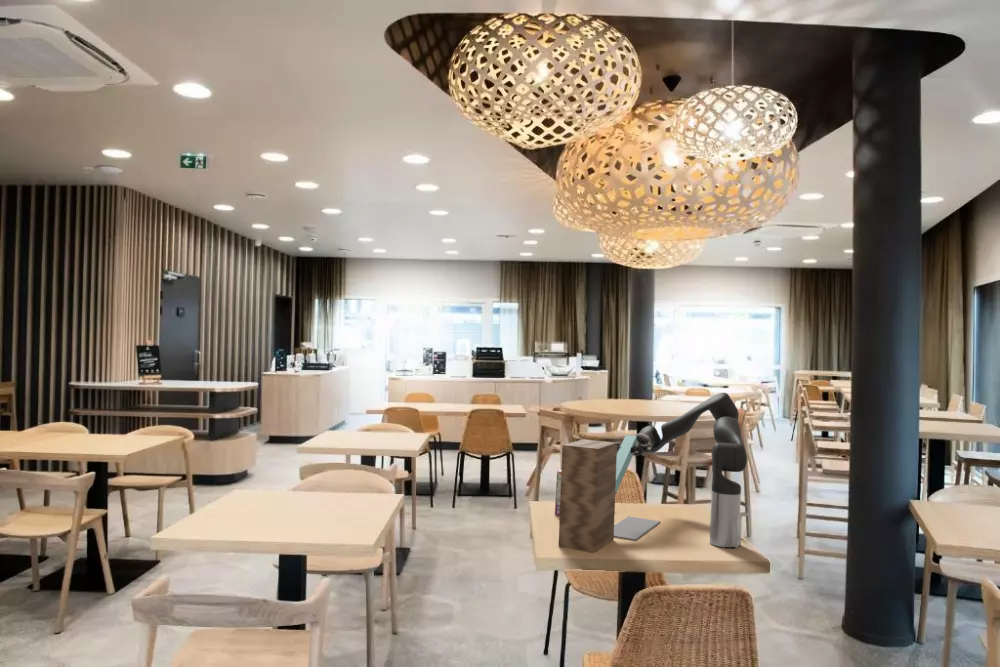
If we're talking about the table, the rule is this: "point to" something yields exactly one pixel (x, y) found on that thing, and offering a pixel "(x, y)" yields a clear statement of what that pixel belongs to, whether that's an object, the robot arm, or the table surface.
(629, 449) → the teal bar
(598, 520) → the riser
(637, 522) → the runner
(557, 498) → the candy bar box
